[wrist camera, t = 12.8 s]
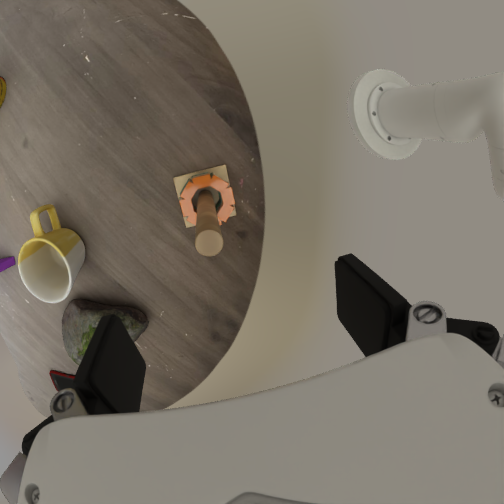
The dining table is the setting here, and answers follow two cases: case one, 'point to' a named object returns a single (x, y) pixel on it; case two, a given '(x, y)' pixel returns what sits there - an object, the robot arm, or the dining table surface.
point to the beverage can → (2, 90)
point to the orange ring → (202, 182)
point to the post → (205, 212)
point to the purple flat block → (6, 263)
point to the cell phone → (62, 380)
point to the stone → (95, 324)
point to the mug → (50, 259)
